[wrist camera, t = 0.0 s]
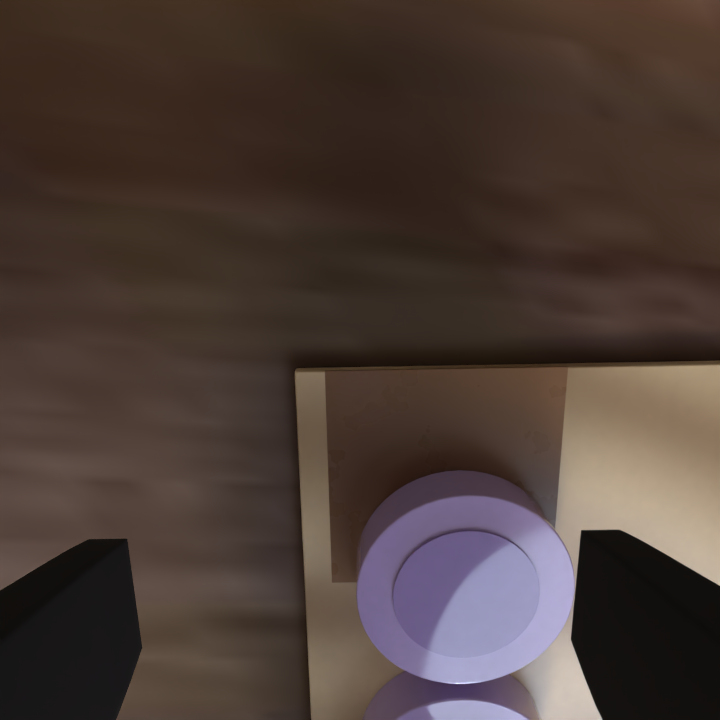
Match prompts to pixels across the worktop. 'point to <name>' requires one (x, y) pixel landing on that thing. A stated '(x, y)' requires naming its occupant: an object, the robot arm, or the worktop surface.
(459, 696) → the saucer
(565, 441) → the board
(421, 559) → the saucer
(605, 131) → the worktop surface
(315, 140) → the worktop surface
